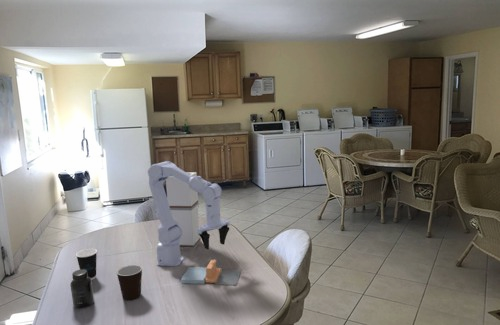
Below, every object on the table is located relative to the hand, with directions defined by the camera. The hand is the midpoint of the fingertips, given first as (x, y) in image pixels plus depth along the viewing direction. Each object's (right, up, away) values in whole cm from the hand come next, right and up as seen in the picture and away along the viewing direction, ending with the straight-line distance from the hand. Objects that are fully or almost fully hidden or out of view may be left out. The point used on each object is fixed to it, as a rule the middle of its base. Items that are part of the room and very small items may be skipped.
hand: (214, 246), depth 156 cm
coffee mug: (-28, -14, -16) cm, 35 cm away
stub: (0, -11, -5) cm, 12 cm away
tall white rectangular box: (-17, -6, +30) cm, 35 cm away
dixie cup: (-50, -13, -2) cm, 52 cm away
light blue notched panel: (-7, -11, -4) cm, 14 cm away
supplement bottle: (-44, -16, -22) cm, 52 cm away
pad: (+6, -11, -6) cm, 14 cm away
